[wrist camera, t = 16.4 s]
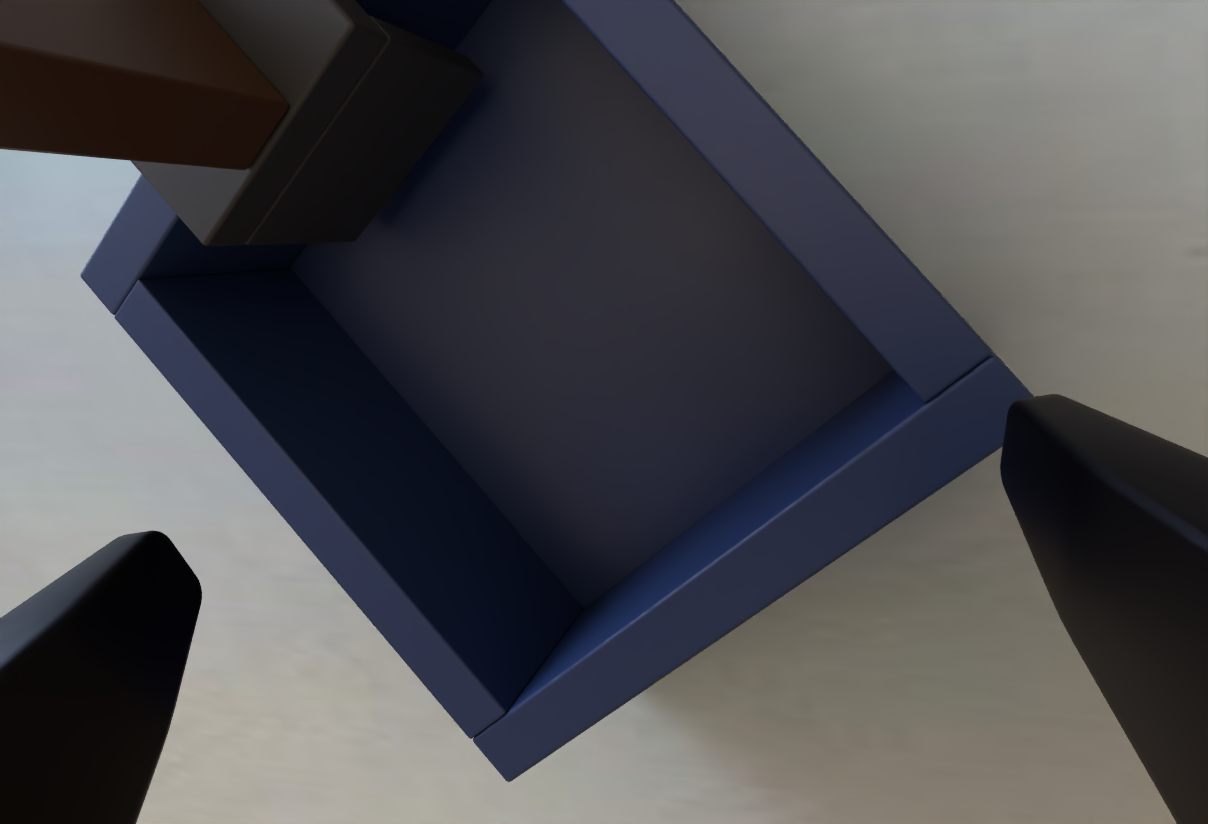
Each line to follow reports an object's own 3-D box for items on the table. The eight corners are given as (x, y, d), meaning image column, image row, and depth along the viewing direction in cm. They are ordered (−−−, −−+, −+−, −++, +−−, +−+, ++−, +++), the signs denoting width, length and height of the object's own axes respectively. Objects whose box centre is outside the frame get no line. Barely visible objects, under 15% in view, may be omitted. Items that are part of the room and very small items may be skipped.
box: (995, 357, 16) (1051, 415, 11) (591, 655, 21) (507, 784, 16) (547, -136, 16) (415, -284, 12) (255, 264, 21) (77, 275, 16)
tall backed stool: (486, 75, 16) (-456, -295, 5) (355, 242, 18) (-539, 272, 7) (357, -68, 16) (-851, -761, 5) (242, 113, 18) (-818, -77, 7)
